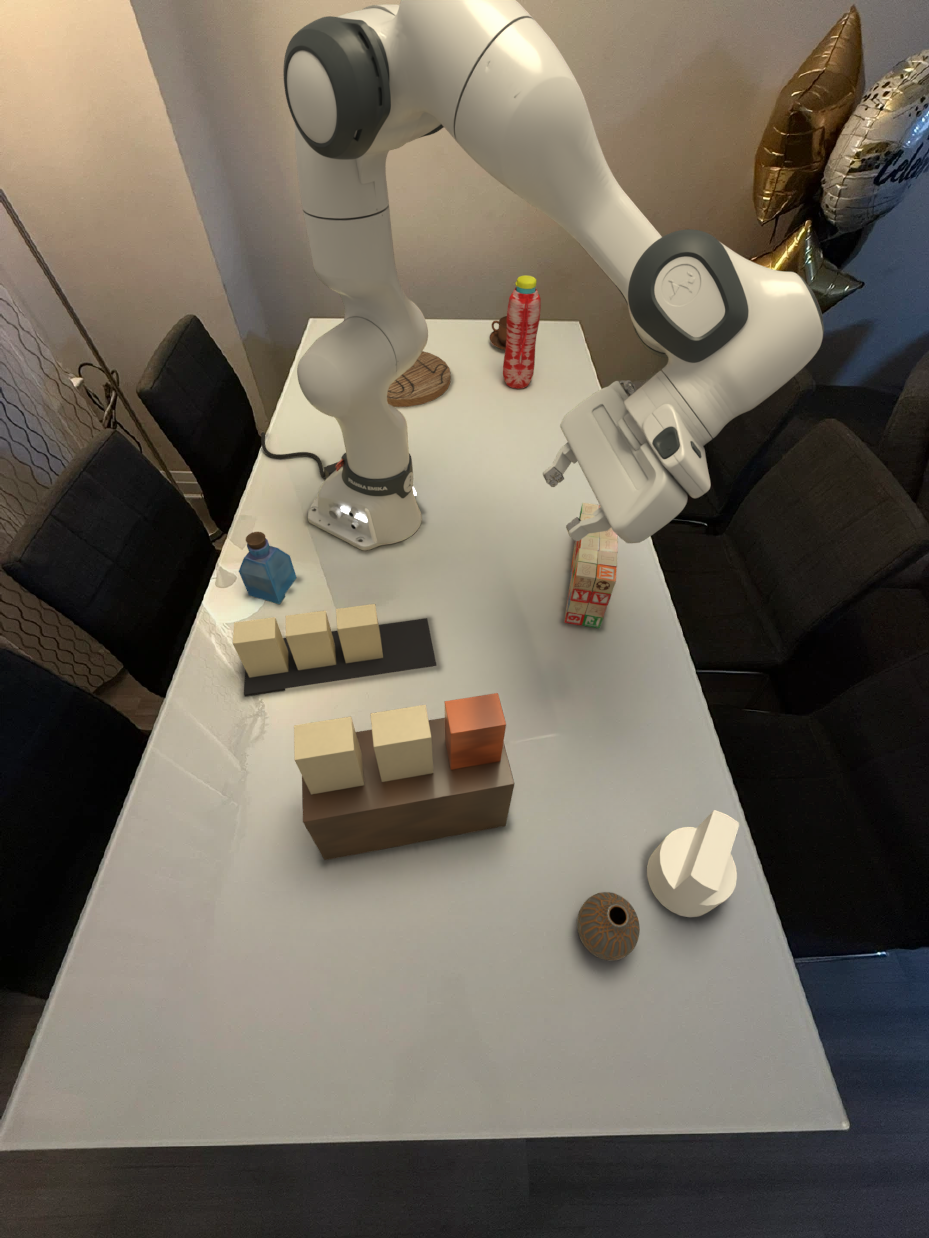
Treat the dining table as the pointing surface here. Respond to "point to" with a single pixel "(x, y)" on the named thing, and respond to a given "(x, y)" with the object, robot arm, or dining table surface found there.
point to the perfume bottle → (266, 569)
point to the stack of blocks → (591, 574)
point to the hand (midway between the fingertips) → (558, 506)
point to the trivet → (420, 382)
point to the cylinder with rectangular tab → (695, 866)
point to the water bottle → (521, 333)
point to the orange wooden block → (474, 730)
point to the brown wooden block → (392, 784)
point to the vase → (608, 926)
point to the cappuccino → (499, 333)
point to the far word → (328, 648)
